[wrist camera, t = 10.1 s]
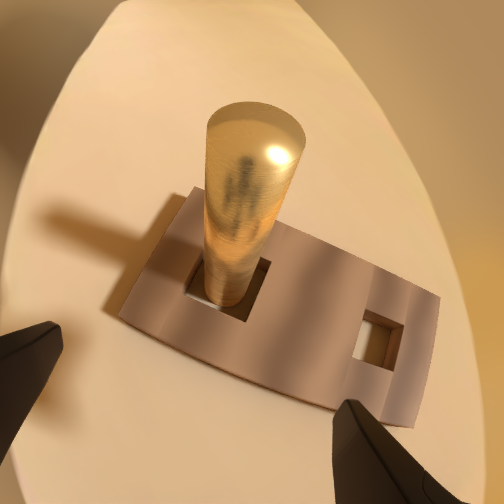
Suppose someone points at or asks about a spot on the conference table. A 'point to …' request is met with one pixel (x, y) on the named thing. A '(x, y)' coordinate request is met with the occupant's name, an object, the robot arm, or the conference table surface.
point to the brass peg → (244, 191)
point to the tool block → (293, 319)
